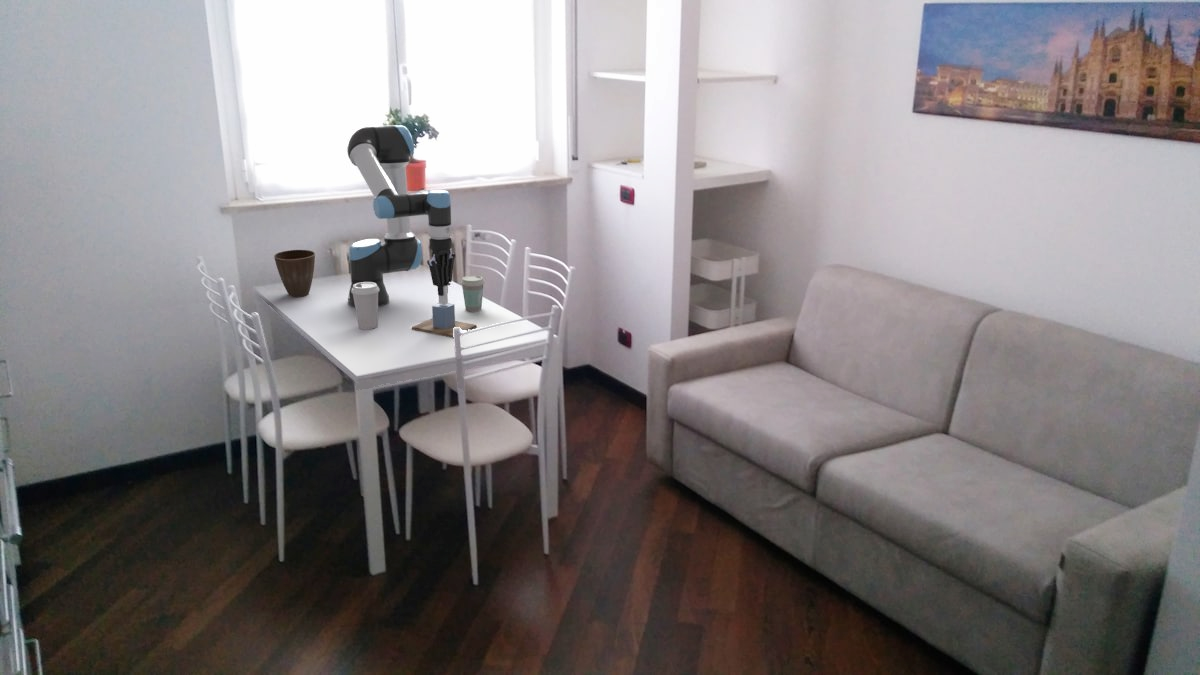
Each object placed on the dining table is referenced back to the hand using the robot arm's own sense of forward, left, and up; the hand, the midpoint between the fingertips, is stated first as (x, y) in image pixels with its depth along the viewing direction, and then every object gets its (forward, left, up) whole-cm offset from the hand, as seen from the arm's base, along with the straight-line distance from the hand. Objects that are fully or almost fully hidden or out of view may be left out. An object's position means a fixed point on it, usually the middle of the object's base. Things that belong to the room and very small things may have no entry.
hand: (443, 303), depth 317 cm
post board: (0, 0, -9) cm, 9 cm away
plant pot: (-73, +4, -9) cm, 74 cm away
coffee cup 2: (-4, +23, -9) cm, 25 cm away
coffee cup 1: (-24, -12, -9) cm, 28 cm away
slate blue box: (0, 0, -8) cm, 8 cm away
